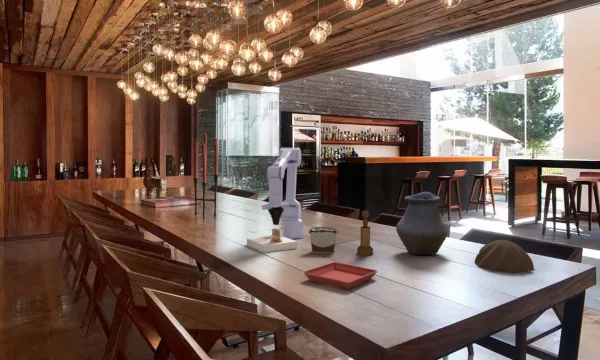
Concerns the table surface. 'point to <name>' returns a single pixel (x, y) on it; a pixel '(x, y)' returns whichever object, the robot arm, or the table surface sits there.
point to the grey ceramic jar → (422, 225)
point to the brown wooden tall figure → (365, 237)
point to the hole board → (271, 244)
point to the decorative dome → (504, 258)
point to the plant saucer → (340, 275)
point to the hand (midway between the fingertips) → (275, 224)
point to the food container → (323, 239)
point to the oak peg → (276, 236)
